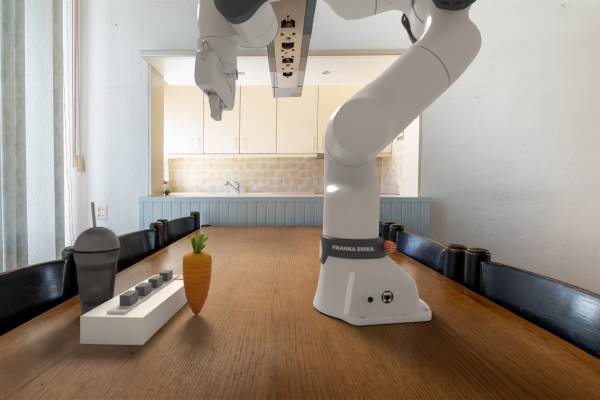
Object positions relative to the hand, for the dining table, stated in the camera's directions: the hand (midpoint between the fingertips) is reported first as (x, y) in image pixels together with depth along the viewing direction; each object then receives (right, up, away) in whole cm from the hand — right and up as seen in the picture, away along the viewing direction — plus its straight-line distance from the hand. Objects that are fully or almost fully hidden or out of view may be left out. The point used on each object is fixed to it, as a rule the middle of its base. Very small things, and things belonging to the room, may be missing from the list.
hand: (216, 119), depth 69 cm
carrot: (+1, -40, -15) cm, 42 cm away
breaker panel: (-8, -39, -15) cm, 43 cm away
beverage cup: (-17, -39, -15) cm, 45 cm away
